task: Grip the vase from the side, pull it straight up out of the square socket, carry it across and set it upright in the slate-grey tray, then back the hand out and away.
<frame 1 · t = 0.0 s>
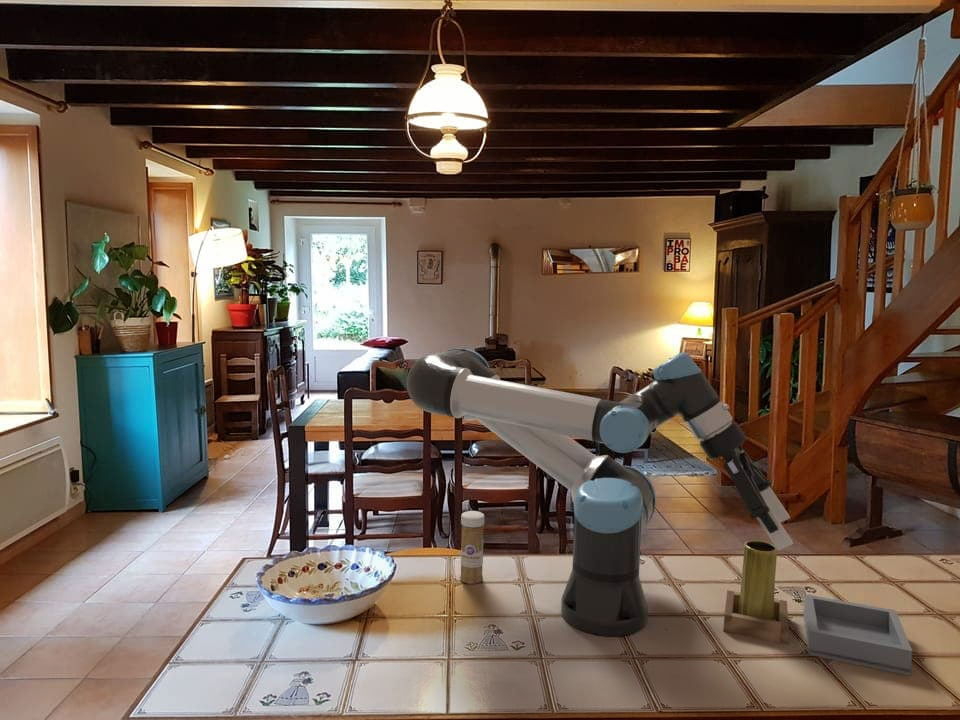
hand: (784, 533, 119), 15 cm above the tiled counter, tool tilted 35°, fingers open, 13 cm apart
socket: (755, 623, 117), on the tiled counter
sprinkles bottle: (471, 580, 132), on the tiled counter
vase: (755, 625, 117), resting in socket
tray: (852, 643, 111), on the tiled counter
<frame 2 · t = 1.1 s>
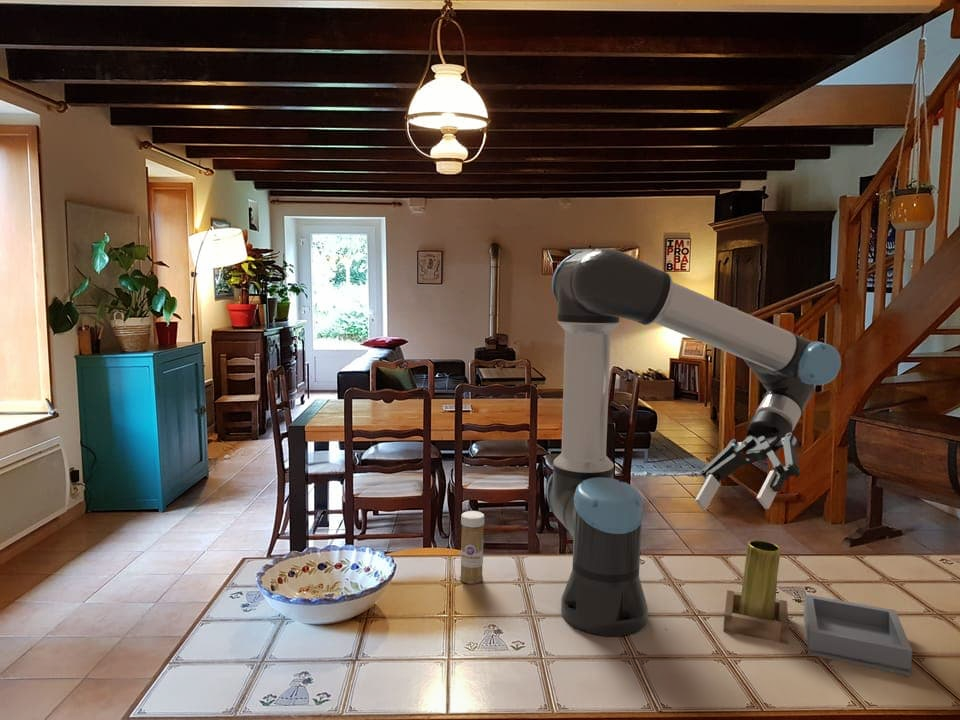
hand: (730, 504, 120), 20 cm above the tiled counter, tool tilted 55°, fingers open, 13 cm apart
nothing on the tiled counter moved.
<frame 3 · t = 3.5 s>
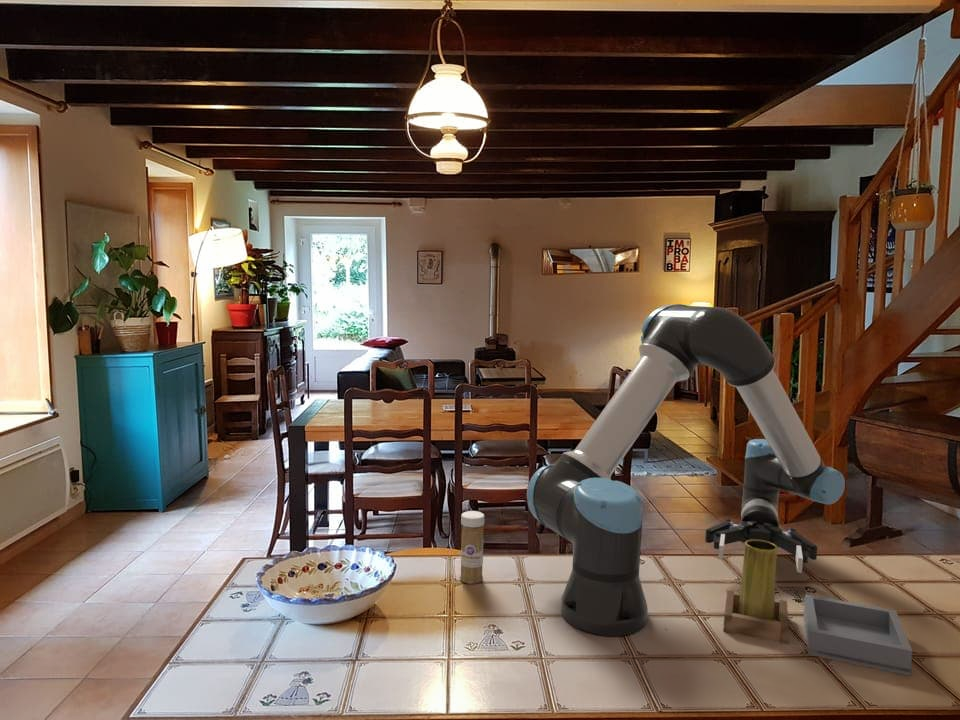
hand: (759, 558, 124), 8 cm above the tiled counter, tool horizontal, fingers open, 13 cm apart
nothing on the tiled counter moved.
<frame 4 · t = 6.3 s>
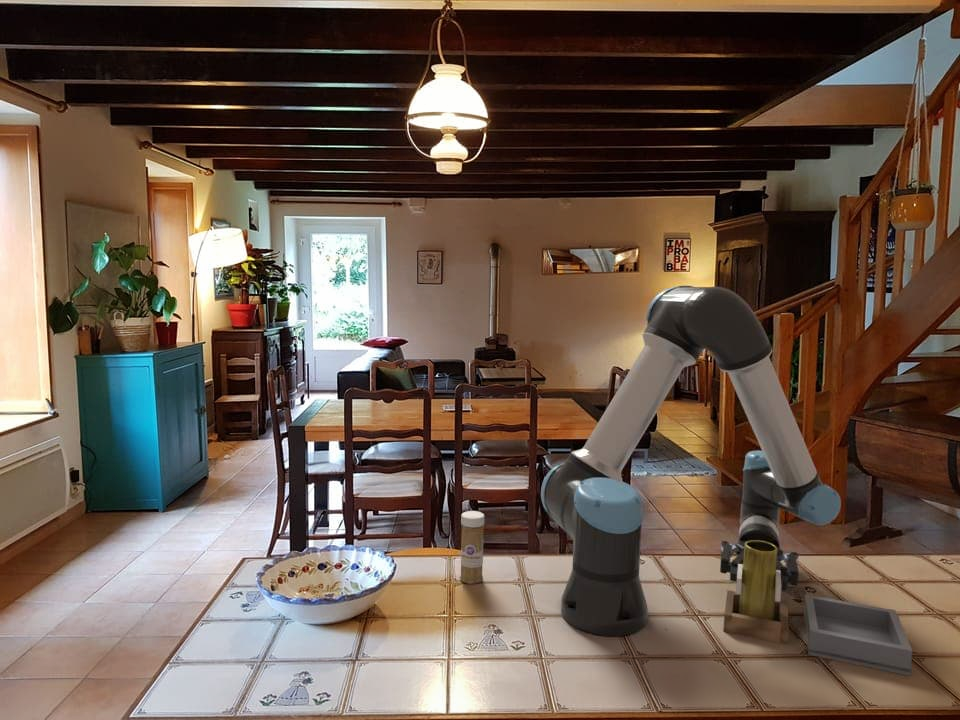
hand: (758, 589, 111), 9 cm above the tiled counter, tool horizontal, fingers closed on vase, 5 cm apart
vase: (755, 624, 117), resting in socket, touching gripper
everything else where it was.
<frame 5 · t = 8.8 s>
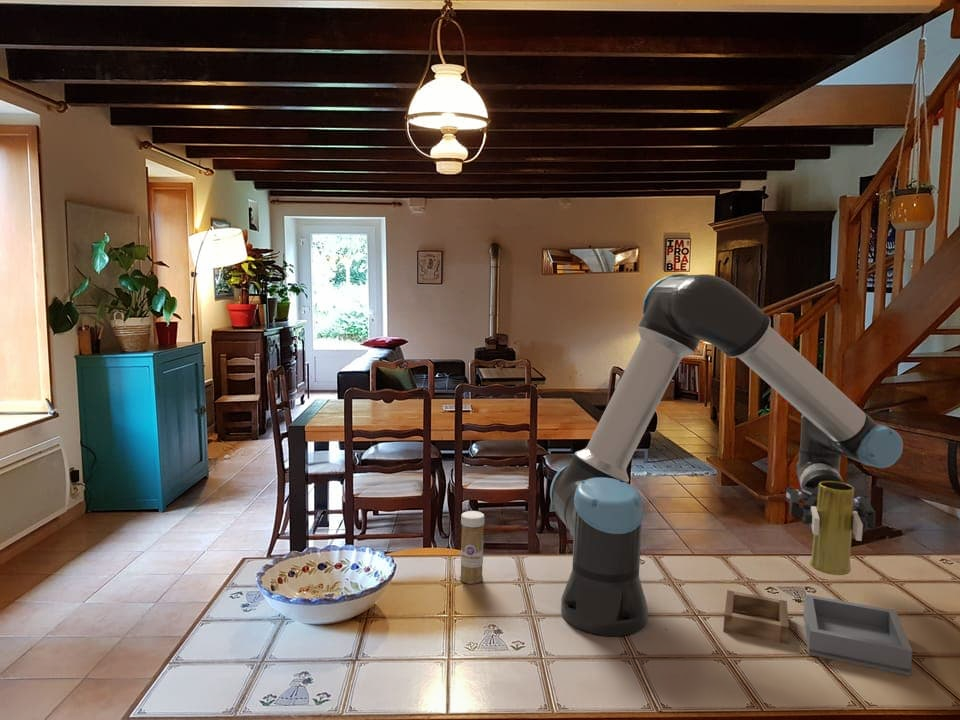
hand: (837, 529, 106), 20 cm above the tiled counter, tool horizontal, fingers closed on vase, 5 cm apart
vase: (829, 568, 112), point 12 cm above the tiled counter, touching gripper
everything else where it was.
when the fingers open (11 cm above the tiled counter, at t = 11.5 s): vase drops 1 cm, resting on tray.
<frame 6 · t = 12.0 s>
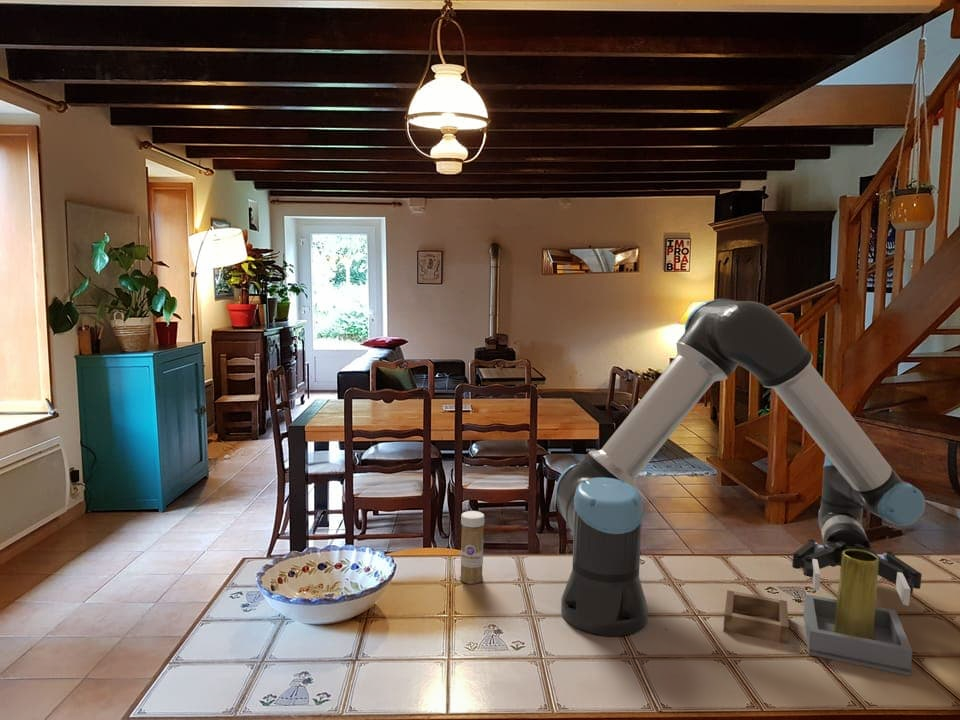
hand: (861, 589, 107), 11 cm above the tiled counter, tool horizontal, fingers open, 12 cm apart
vase: (853, 638, 111), point 1 cm above the tiled counter, touching tray
everything else where it was.
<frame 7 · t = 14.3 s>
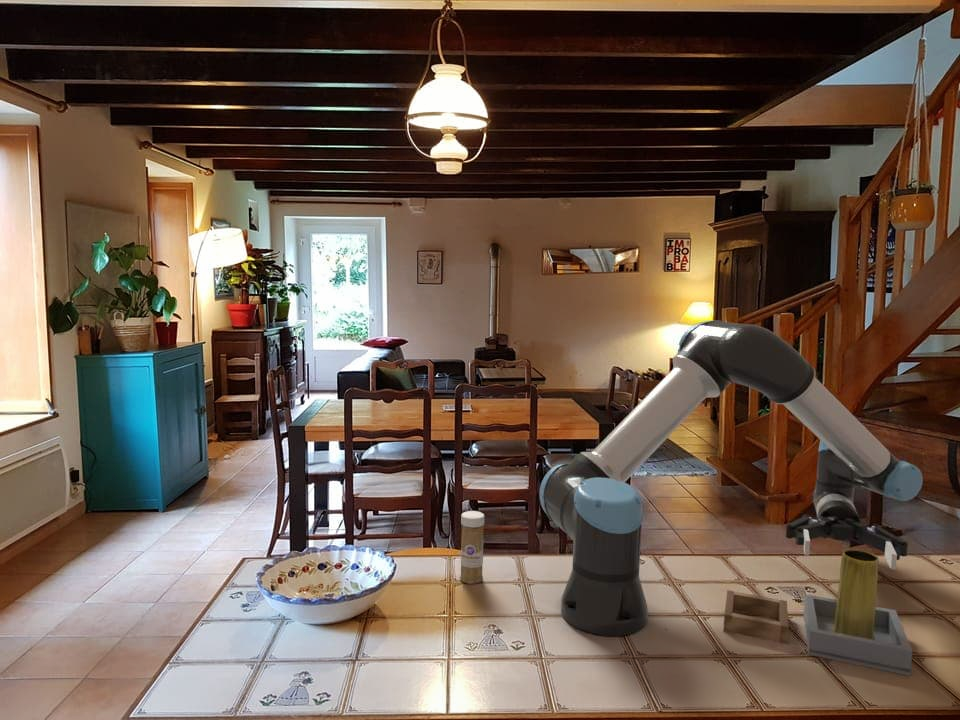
hand: (849, 555, 119), 11 cm above the tiled counter, tool horizontal, fingers open, 13 cm apart
nothing on the tiled counter moved.
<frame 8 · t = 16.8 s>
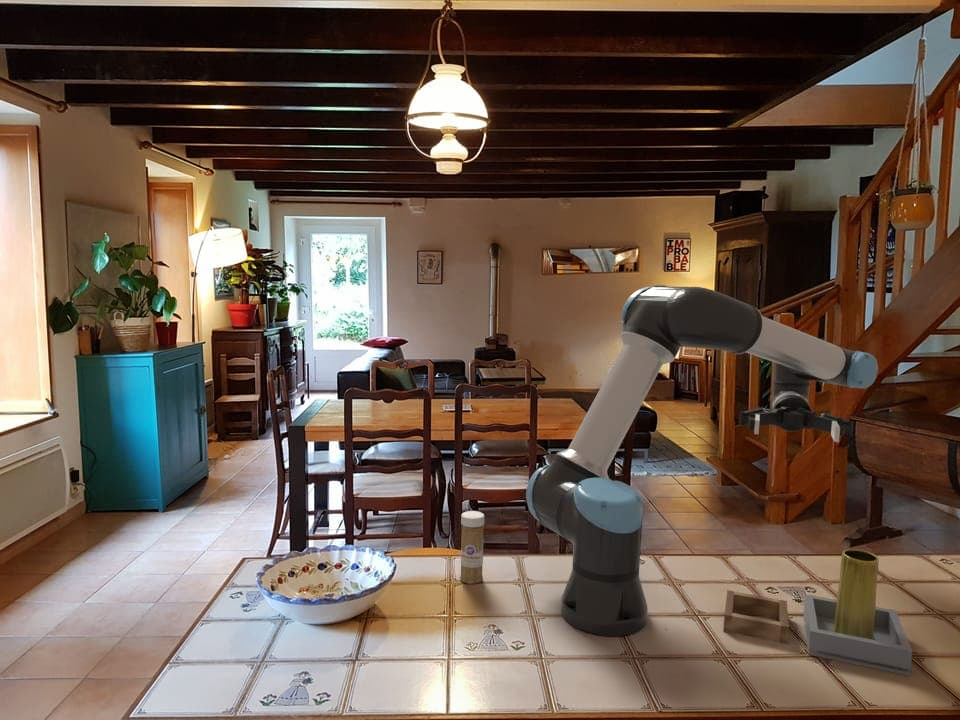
hand: (796, 431, 125), 32 cm above the tiled counter, tool horizontal, fingers open, 13 cm apart
nothing on the tiled counter moved.
at the end: vase inside the target area on the tray (0.1 cm from its centre), point 0.8 cm above the tray's base; vase tilted 0°; the gripper is holding nothing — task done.
